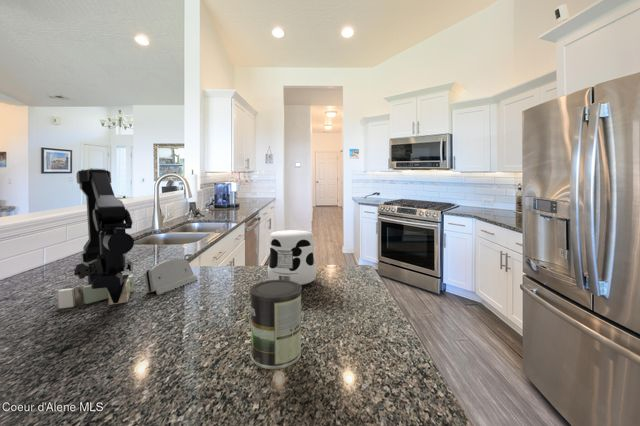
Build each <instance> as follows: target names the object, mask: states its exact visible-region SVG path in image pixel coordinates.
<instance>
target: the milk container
mask: <svg viewBox="0 0 640 426" xmlns="http://www.w3.org/2000/svg"><path fill="white" fill-rule="evenodd" d="M269 235H270V236H269V255H270V256H269V262H268V266H267V276H268V281H269V280H289V281H293V282H296V283H298V284H300V285H301V287H304V286H307V285H310V284H311V283H313V282H314V281H315V280H316V276H317V265H316V261H315V254H314V253H315V238H314V237H315V236H314V233H313V232H311V231H308V230H301V229H300V230H295V229H292V230H289V229H288V230H278V231H273V232H271V233H270V234H269Z"/></svg>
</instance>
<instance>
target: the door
mask: <svg viewBox="0 0 640 426" xmlns="http://www.w3.org/2000/svg"><path fill="white" fill-rule="evenodd" d="M128 279H129V281H130V293H132V292H135V287H134V275H129V277H128ZM86 285H87V284H86ZM86 285H84V286H82V294H83V304H85V305H87V304H92V303H95V302H99V301H102V300H105V299H106V300H107V299H109V296H108V289H107V288H98V289H92V288H91V285H87V286H86Z"/></svg>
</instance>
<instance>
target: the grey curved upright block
mask: <svg viewBox="0 0 640 426" xmlns="http://www.w3.org/2000/svg"><path fill="white" fill-rule="evenodd" d="M144 280H145V286H146V292H147V294H149V293H153V292H155V293H156V295H157V296H159V295H162V294H164V292H165V293H167V292H170V291H173V290H176V289H178V288H181V287H183V285H184V286H186V285H185V284H187V283H189V284H191V283H190V282H192V283H194V282H193V281H195V280H197V281H198V278H197V275H196V274H194V271H193V269H192V267H191V265H190V263H189V261H188V260H187V259H183V258H181V259H178V258H177V259H169V260H165V261H162V262H159V263H157V264H155V265H153V266H151V267H150V268H149V269H147V270H146V271H145V272H144ZM195 282H196V281H195ZM187 285H188V284H187ZM180 286H181V287H180ZM175 288H176V289H175Z"/></svg>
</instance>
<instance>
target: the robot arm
mask: <svg viewBox="0 0 640 426" xmlns="http://www.w3.org/2000/svg"><path fill="white" fill-rule="evenodd" d="M111 176H112V175H111V171H109V170H108V169H106V168H96V167H90V168H87V169H80V170H78V171H77V172H76V176H75V177H76V183H77V185H79V190H80V191H82V193H83V194H84V196H85V198H86V211H87V212H86V213H87V217H86V218H87V230H88V232H87V233H88V239H87V241H86V242H85V244H84V245H83V252H82V253H81V254H80V255H81V256H80V263H78V264H76V265H75V268H74V269H73V271H74V274H73V275H74V276H77V277H78V279H79V280H83V279H85V278H87V284H86V285H85V286H87V285H91V288H92V289H98V288H107V289H108V292H109V294H110V296H111V299H112V301H113V303H117V304H119V303H118V302H119V299H120V297H121V294H122V292H123V289H124V287H125V284H126V282H127V279H128V277H129V276H130V274H124V273H123V272H125V271H126V270H128V271H129V272H132V271H133V270H134V267H133V266H134V265H133V264H134V263H133V262H131V261H130V260H126V255H127V254H128V253H129V252H131V250H132V249H133V247H134V245H135V241H134V237H133V236H132V235H131V234H130V233H127V232H126V230H131V229H132V228H133V227H132V226H133V223H134V222H133V219H132V216H131V213H130V211H129V210H128V208H127V207H125V204H124V203H123V201H122V200H121V199H119V198H117V197H116V196H115V193H114V190H113V188H112V184H111V183H112V177H111Z"/></svg>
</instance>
